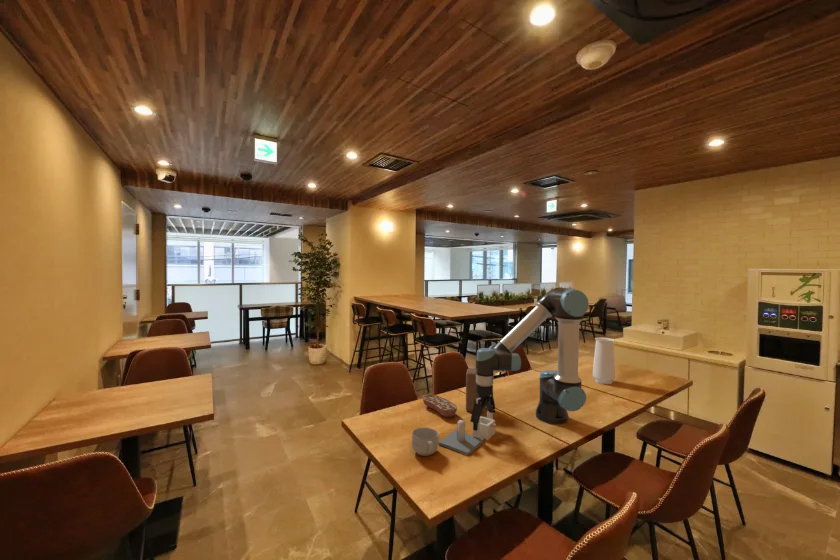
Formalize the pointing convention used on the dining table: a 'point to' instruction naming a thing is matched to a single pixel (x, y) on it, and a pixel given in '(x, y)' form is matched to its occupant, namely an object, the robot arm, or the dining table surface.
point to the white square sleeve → (487, 427)
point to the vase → (604, 361)
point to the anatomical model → (440, 405)
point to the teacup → (424, 441)
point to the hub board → (461, 445)
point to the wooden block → (471, 390)
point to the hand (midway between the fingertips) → (483, 431)
